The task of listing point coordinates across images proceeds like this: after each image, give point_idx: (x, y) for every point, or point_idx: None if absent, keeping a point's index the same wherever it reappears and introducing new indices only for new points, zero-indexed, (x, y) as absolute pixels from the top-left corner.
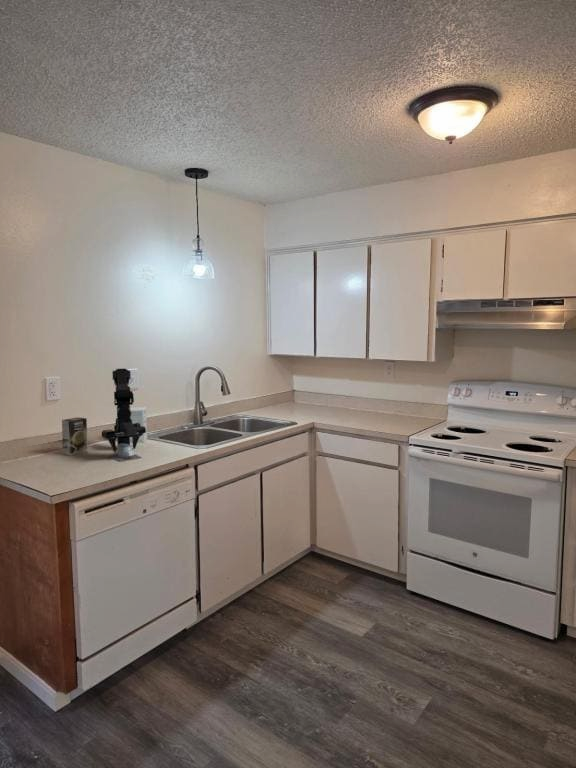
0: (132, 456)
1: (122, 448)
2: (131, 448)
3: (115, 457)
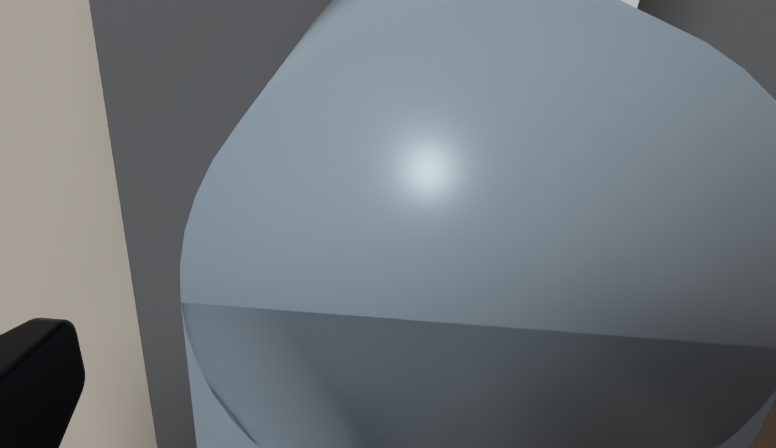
0: None
1: (767, 300)
2: (345, 20)
3: None
